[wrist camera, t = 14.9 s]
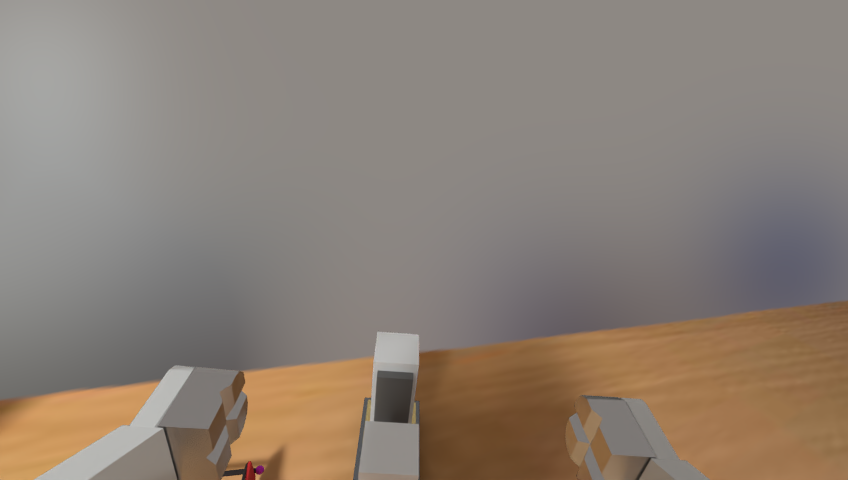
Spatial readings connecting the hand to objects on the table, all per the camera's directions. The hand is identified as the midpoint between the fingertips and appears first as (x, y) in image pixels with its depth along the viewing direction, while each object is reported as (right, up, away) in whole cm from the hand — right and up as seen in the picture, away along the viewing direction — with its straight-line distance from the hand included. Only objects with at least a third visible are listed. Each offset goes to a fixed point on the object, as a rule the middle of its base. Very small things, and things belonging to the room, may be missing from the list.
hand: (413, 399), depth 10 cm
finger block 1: (-3, -15, +33) cm, 36 cm away
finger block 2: (-3, -20, +24) cm, 31 cm away
